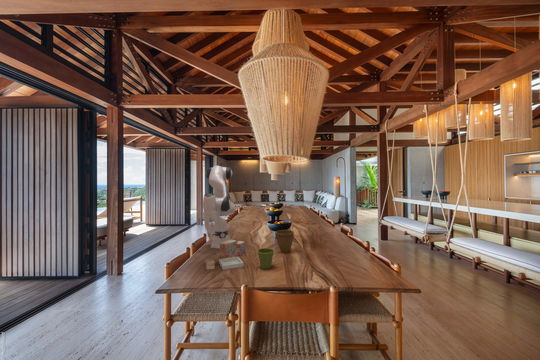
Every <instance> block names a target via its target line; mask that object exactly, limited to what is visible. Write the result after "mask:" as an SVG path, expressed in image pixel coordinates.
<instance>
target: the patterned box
mask: <svg viewBox="0 0 540 360" xmlns="http://www.w3.org/2000/svg"><path fill="white" fill-rule="evenodd" d="M244 254H246V241H241V240H236V239H230V240H229V241H225V242H222V243H220V249H219V259H225V258H232V257H239V256H241V255H244Z"/></svg>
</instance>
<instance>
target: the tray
mask: <svg viewBox="0 0 540 360" xmlns="http://www.w3.org/2000/svg"><path fill="white" fill-rule="evenodd" d="M218 264H220V265H219V266H220V269H221V270H222V271H228V270H234V269H240V268H244V267H245V265H244V264H245V263H244V262H243V260H242V259H241V258H240V257H239V256H237V257H232V258H225V259H220V258H219V259H218Z"/></svg>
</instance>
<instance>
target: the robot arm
mask: <svg viewBox="0 0 540 360" xmlns="http://www.w3.org/2000/svg"><path fill="white" fill-rule="evenodd" d="M205 176H206V179H208V183H209V185H210V186H211V188H213V189H214V190H213V191H214V193H211V192H210V193H205V194H203V197H202V198H203V199H202V209H203V211H202V221H203V222H204V228H205V230H206V234H207V237H208V238H209V240H210V241H211V244H210V248H211V249H219V250H220V243H222V242H225V241H229V240H231V237H230V235H229V230H228V229H229V227H228V226H229V225H228V220H226V219H224V218H222V217H221V216H228V215H233V214H234V213H235V212H236V209H237V208H236V204H235V203H234V202H232V201H231V200H230V194H229V188H228V181H229V180H230V179H232V177H233V170H232V168H231V167H229V166H227V167H226V166H220V165H214V166H213V167H211V166H210V167H207V168H206V171H205Z"/></svg>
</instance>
